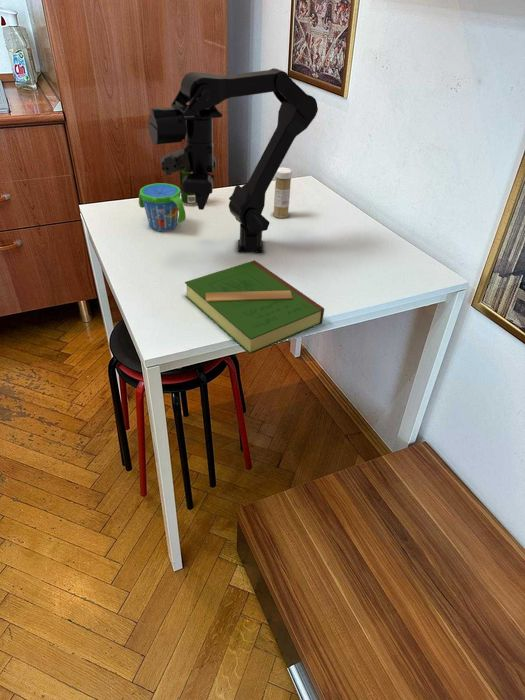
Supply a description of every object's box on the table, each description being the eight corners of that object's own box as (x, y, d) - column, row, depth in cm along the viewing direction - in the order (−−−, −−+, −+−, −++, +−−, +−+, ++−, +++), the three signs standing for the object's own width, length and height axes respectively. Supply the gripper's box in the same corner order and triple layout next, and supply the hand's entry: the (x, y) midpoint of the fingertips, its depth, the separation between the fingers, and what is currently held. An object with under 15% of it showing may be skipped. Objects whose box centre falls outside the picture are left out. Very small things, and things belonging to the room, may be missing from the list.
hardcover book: (322, 323, 106) (324, 308, 104) (249, 354, 97) (250, 338, 94) (252, 272, 121) (252, 258, 119) (183, 295, 112) (183, 280, 109)
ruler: (205, 294, 106) (205, 292, 105) (290, 291, 108) (290, 290, 108) (206, 302, 103) (206, 300, 103) (292, 299, 106) (292, 297, 105)
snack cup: (130, 222, 140) (125, 186, 133) (160, 212, 146) (158, 177, 140) (165, 241, 132) (162, 204, 125) (196, 230, 138) (195, 193, 132)
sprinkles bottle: (286, 212, 151) (289, 166, 142) (290, 218, 147) (294, 172, 139) (271, 212, 150) (274, 167, 141) (274, 219, 146) (277, 172, 138)
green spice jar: (201, 204, 152) (200, 164, 144) (184, 207, 150) (182, 166, 142) (195, 198, 155) (194, 158, 148) (178, 200, 153) (176, 160, 146)
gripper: (167, 126, 116) (171, 192, 125) (155, 151, 101) (161, 224, 111) (215, 128, 116) (216, 194, 126) (211, 154, 102) (212, 226, 111)
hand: (201, 209), depth 118 cm, fingers closed
